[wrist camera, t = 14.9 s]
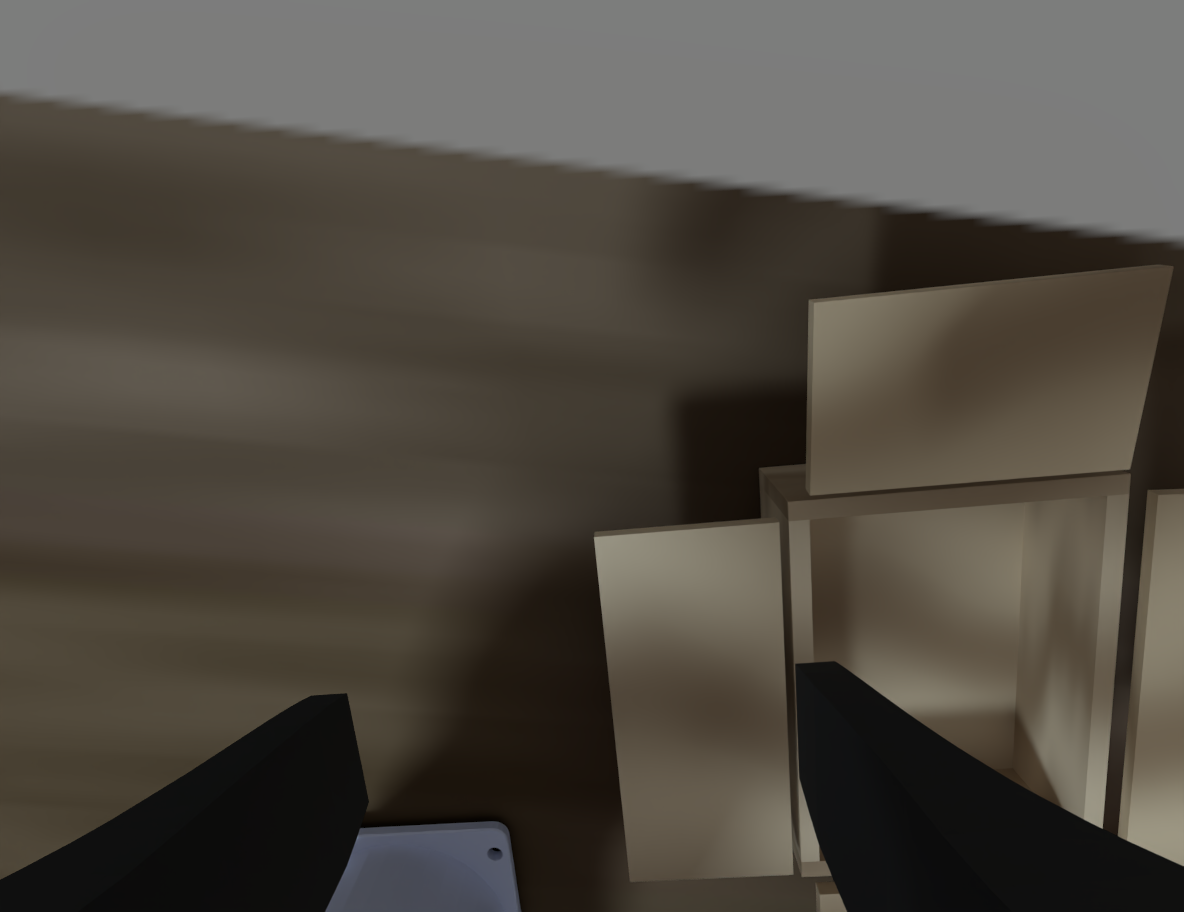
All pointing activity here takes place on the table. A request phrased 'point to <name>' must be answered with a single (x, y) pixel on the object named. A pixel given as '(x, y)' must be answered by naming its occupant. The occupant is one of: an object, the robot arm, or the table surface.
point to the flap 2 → (1157, 688)
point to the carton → (856, 651)
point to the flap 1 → (980, 379)
